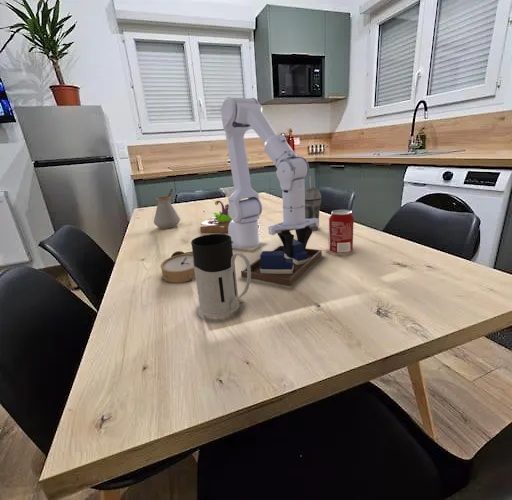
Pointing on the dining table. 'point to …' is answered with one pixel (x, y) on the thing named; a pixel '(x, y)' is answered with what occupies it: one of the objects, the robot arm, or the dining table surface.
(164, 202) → the coffee pot
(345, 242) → the soda can
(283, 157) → the robot arm
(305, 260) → the trainer
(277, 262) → the trainer
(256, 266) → the shoe tray
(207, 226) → the plant
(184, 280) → the alarm clock
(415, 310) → the dining table surface
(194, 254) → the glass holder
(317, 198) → the beverage cup
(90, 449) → the dining table surface
